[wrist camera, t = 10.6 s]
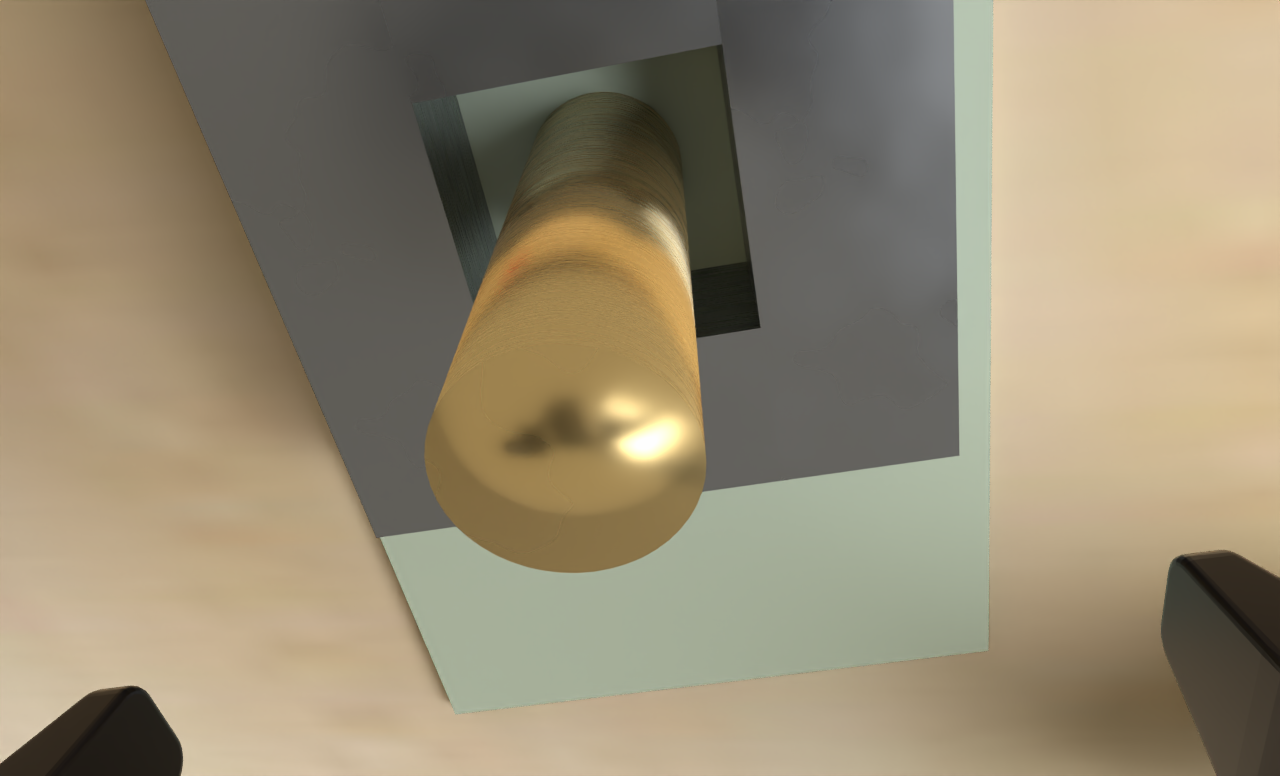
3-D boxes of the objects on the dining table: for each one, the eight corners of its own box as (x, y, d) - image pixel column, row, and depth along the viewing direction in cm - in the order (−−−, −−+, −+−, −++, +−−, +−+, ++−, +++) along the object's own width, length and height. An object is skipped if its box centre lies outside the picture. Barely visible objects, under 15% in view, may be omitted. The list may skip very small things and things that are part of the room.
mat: (983, 639, 26) (988, 650, 25) (458, 702, 27) (455, 714, 27) (987, -283, 15) (995, -285, 15) (123, -91, 17) (112, -90, 16)
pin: (692, 226, 19) (724, 554, 11) (550, 250, 19) (469, 588, 11) (668, 78, 18) (682, 320, 9) (513, 107, 18) (386, 369, 9)
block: (921, 377, 21) (959, 455, 18) (409, 455, 22) (376, 537, 20) (898, -264, 15) (949, -281, 12) (192, -107, 16) (105, -94, 14)
